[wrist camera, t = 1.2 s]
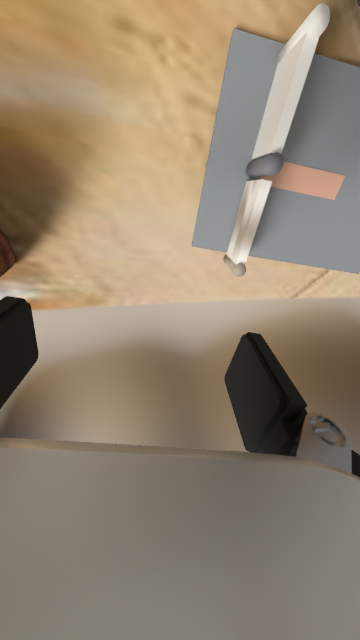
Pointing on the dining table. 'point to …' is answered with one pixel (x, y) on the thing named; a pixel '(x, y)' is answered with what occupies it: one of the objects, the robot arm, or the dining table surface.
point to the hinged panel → (246, 224)
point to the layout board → (287, 150)
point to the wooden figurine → (5, 255)
